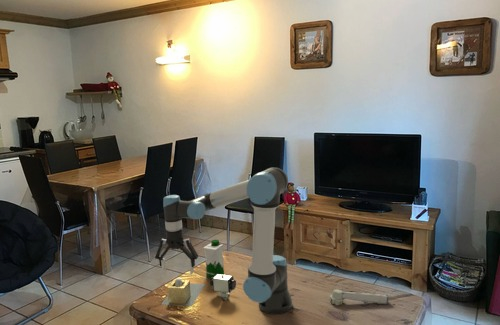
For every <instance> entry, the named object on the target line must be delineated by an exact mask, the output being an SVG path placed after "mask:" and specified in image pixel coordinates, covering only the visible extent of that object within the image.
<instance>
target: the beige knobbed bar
mask: <svg viewBox="0 0 500 325" xmlns="http://www.w3.org/2000/svg"><path fill="white" fill-rule="evenodd" d="M329 300H330V303H331V304H332V305H333V304H334V305H335V306H339V305H343V304H344V301H345V300H349V301H350V300H352V301H358V302H359V301H360V302H367V303H373V304H378V305H381V304H382V305H389V304H388V303H389V295H387V294H382V293H380V292H379V293H370V292H369V293H368V292H355V291H354V292H353V291H343V290H341V289H337V288H336V289H335V288H334V290H332V294H330V295H329Z"/></svg>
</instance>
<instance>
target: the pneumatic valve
mask: <svg viewBox="0 0 500 325" xmlns="http://www.w3.org/2000/svg"><path fill="white" fill-rule="evenodd" d="M209 285H210V287H212V291H216V292H218V293H217V296H218V297H219V298H222V301H227V300H228V299H230V297H231V296H230V293H231V292H232V291H234V290H235V289H236V288H237V281H236V279H235V278H234V275H228V274H225V273H224V275H220V274H216V275H215V276H214V277H212V278H210V280H209Z"/></svg>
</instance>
